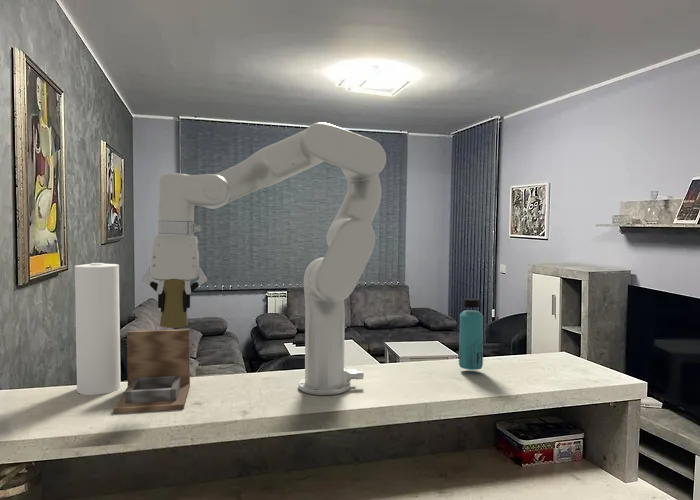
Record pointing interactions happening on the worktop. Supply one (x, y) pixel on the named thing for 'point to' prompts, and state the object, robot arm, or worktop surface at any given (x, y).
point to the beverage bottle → (471, 337)
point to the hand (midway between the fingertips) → (174, 310)
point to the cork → (174, 305)
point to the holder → (156, 371)
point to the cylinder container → (97, 328)
